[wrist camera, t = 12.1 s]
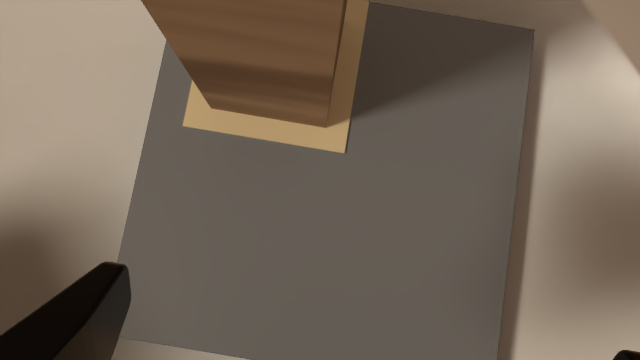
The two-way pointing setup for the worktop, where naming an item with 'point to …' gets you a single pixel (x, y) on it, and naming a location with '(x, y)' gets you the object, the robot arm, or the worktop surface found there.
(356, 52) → the baseplate
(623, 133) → the worktop surface
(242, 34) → the walnut post
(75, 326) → the robot arm
